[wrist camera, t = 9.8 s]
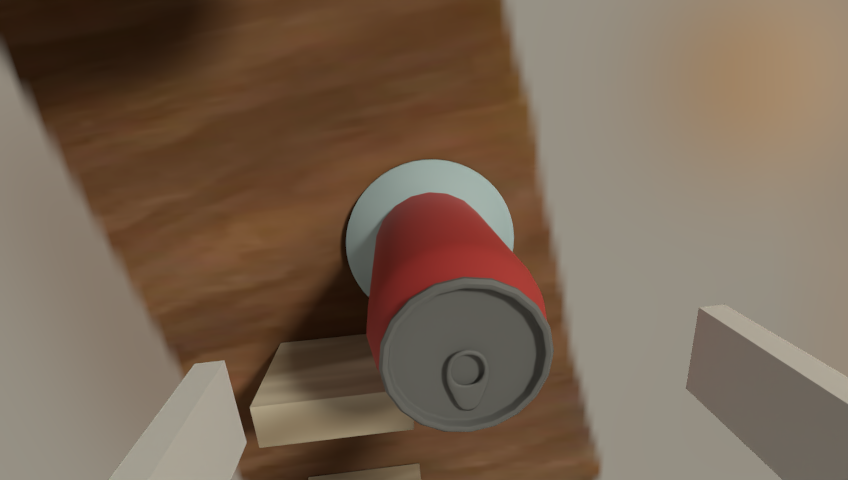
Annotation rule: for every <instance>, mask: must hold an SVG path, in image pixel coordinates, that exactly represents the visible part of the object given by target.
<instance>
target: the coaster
mask: <svg viewBox="0 0 848 480" xmlns="http://www.w3.org/2000/svg"><path fill="white" fill-rule="evenodd" d="M428 192H433V193H446V194H449V195H452V196H454V197H457V198H459V199H461V200H464V201H465V202H466V203H467V204H468V205H470V206H471V207H472V208H473V209H474V210H475V211H476V212H477V213H478V214H479V215H480V216H481V217H482V218H483V219H484V220H485V222H486V223H487V224H488V225H489V226H490V227H491V228H492V229H493V231H494V232H495V233H496V234H497V235H498V236H499V237H500V238H501V240H502V241H503V242H504V243H505V244H506V245H507V246H508V248H509V249H510V250H511V251H512V252H513V243H514V233H513V224H512V220H511V216H510V213H509V210H508V208H507V206H506V204H505V202H504V200H503V198H502V197H501V195H500V194H499V192H498V191H497V190H496V188H495V187H494V186H493V185H492V184H491V183H490V182H489V181H488V180H486V179H485V178H484V177H483V176H481V175H480V174H479V173H477V172H475V171H474V170H472V169H470V168H468V167H466V166H464V165H461V164H459V163H456V162H452V161H448V160H440V159H422V160H415V161H411V162H407V163H404V164H401V165H399V166H396V167H394V168H392V169H390V170H388V171H387V172H385V173H383V174H382V175H380V176H379V177H378V178H377V179H376V180H374V181H373V182H372V183H371V184H370V185H369V186H368V187H367V188H366V190H365V191H364V192H363V194H362V195H361V196H360V198H359V199H358V201H357V203H356V205H355V207H354V209H353V211H352V214H351V217H350V220H349V223H348V228H347V234H346V252H347V258H348V262H349V266H350V268H351V271H352V274H353V276H354V278H355V280H356V282H357V283H358V285H359V286H360V287H361V289H362V290H363V292H364V293H365V294H366V295H367V296H368V297H369V295H370V286H371V278H372V269H373V261H374V252H375V244H376V236H377V234H378V231H379V229H380V226H381V224H382V221H383V219H384V218H385V217H386V216H387V215H388V214H389V212H390V211H391V210H392V209H393V208H394V207H395V206H396V205H398V204H399V203H401V202H403V201H404V200H406V199H408V198H409V197H411V196H415V195H419V194H423V193H428Z"/></svg>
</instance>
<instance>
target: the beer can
mask: <svg viewBox="0 0 848 480" xmlns="http://www.w3.org/2000/svg"><path fill="white" fill-rule="evenodd" d="M366 336H367V339H368V342H369V345H370V348H371V352H372V355H373V358H374V361H375V364H376V368H377V370H378V371H379V373H380V375H381V378H382V382H383V385H384V388H385V391H386V393H387V394H388V396H389V397H390V398H391V400H392V401H393V402H394V403H395V405H396V406H397V407H398V409H399V410H400V411H401V412H403V413H404V414H406V415H407V416H409V417H410V418H412V419H413V420H415V421H416V422H418V423H419V424H421V425H424V426H428V427H431V428H435V429H438V430H441V431H450V432H471V431H476V430H480V429H484V428H488V427H492V426H496V425H497V424H499V423H501V422H503V421H505V420H507V419H509V418H510V417H512V416H514V415H516V414H518V413H519V412H520V411H521V410H522V409H523V408H524V407H525V406H526V405H527V404H529V403H530V402H531V401H532V400H533V399H534V398H535V397H536V396H537V394H538V392H539V391H540V389H541V387H542V386H543V384H544V382H545V380H546V379H547V377H548V375H549V371H550V367H551V362H552V357H553V352H554V350H553V343H552V336H551V329H550V326H549V324H548V323H547V319H546V312H545V305H544V301H543V297H542V294H541V292H540V290H539V288H538V286H537V284H536V283H535V281H534V279H533V277H532V275H531V274H530V272H529V270H528V269H527V268H526V267H525V266H524V264H523V263H522V262H521V261H520V260H519V259H518V258H517V257H516V255H515V254H514V253H513V252H512V251H511V250H510V249H509V248H508V246H507V245H506V244H505V243H504V242H503V241H502V240H501V238H500V237H499V236H498V235H497V234H496V233H495V232H494V231H493V229H492V228H491V227H490V226H489V225H488V224H487V223H486V222H485V220H484V219H483V218H482V217H481V216H480V215H479V214H478V213H477V212H476V211H475V210H474V209H473V208H472V207H471V206H470V205H468V204H467V203H466V202H465V201H464V200H461V199H459V198H457V197H454V196H452V195H449V194H446V193H433V192H428V193H423V194H419V195H415V196H411V197H409V198H408V199H406V200H404V201H403V202H401V203H399V204H398V205H396V206H395V207H394V208H393V209H392V210H391V211H390V212H389V214H388V215H387V216H386V217H385V218H384V219H383V221H382V224H381V226H380V229H379V231H378V234H377V236H376V244H375V252H374V261H373V269H372V278H371V286H370V295H369V303H368V314H367V332H366Z"/></svg>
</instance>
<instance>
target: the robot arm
mask: <svg viewBox="0 0 848 480" xmlns="http://www.w3.org/2000/svg"><path fill="white" fill-rule="evenodd" d="M686 389H687V390H688V391H689V392H691V393H692V394H693V395H694V396H695V397H696V398H697V399H698V400H699V401H700V402H701V403H702V404H703V405H704V406H705V407H706V408H707V409H708V410H710V411H711V412H712V413H713V414H714V415H715V416H716V417H717V418H718V419H719V420H720V421H721V422H722V423H723V424H724V425H726V427H727V428H729V429H730V430H731V431H732V432H733V433H734V434H735V435H736V436H737V437H738V438H739V439H740V440H741V441H742V442H743V443H744V444H746V446H748V447H749V448H750V449H751V450H752V451H753V452H754V453H755V454H756V455H757V456H758V457H759V458H760V459H761V460H762V461H764V463H765V464H767V465H768V466H769V467H770V468H771V469H772V470H773V471H774V472H775V473H776V474H777V475H778V476H779V477H780V478H781V479H782V480H848V377H846V376H845V375H843V374H841V373H840V372H838V371H836V370H834V369H833V368H831V367H830V366H828V365H826V364H824V363H823V362H821V361H819V360H818V359H816V358H814V357H813V356H811V355H809V354H808V353H806V352H804V351H802V350H801V349H799V348H797V347H796V346H794V345H792V344H791V343H789V342H787V341H785V340H784V339H782V338H780V337H779V336H777V335H775V334H774V333H772V332H770V331H769V330H767V329H765V328H763V327H762V326H760V325H758V324H757V323H755V322H753V321H752V320H750V319H748V318H746V317H745V316H743V315H741V314H740V313H738V312H736V311H734V310H733V309H731V308H730V307H728V306H726V305H717V306H708V307H699V310H698V316H697V324H696V329H695V336H694V342H693V348H692V354H691V360H690V367H689V373H688V379H687V386H686ZM246 443H247V442H246V438H245V435H244V431H243V427H242V424H241V420H240V416H239V413H238V409H237V405H236V401H235V398H234V394H233V390H232V387H231V383H230V379H229V376H228V372H227V368H226V365H225V361H216V362H207V363H198V364H194V365H193V367H192V368H191V369H190V371H189V372H188V373H187V375H186V376H185V377H184V379H183V380H182V381H181V383H180V384H179V385H178V387H177V388H176V389H175V391H174V392H173V394H172V395H171V396H170V398H169V399H168V400H167V402H166V403H165V404H164V406H163V407H162V408H161V410H160V411H159V413H158V414H157V415H156V416H155V418H154V419H153V420H152V422H151V423H150V424H149V426H148V427H147V428H146V430H145V431H144V433H143V434H142V435H141V437H140V438H139V439H138V440H137V442H136V443H135V444H134V446H133V447H132V448H131V450H130V451H129V453H128V454H127V455H126V457H125V458H124V459H123V461H122V462H121V463H120V465H119V466H118V467H117V469H116V470H115V471H114V473H113V474H112V475H111V477H110V478H109V479H108V480H231V479H232V476H233V474H234V472H235V469H236V467H237V464H238V462H239V460H240V457H241V455H242V452H243V450H244V448H245V445H246Z"/></svg>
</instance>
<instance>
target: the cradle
mask: <svg viewBox="0 0 848 480" xmlns="http://www.w3.org/2000/svg"><path fill="white" fill-rule="evenodd" d="M250 411H251V415H252V419H253V423H254V427H255V431H256V435H257V439H258V444H259V448H262V447H270V446H278V445H287V444H295V443H303V442H312V441H320V440H328V439H337V438H345V437H353V436H361V435H370V434H378V433H386V432H395V431H403V430H411V429H414V420H413V419H412V418H410V417H409V416H407V415H406V414H404V413H403V412H401V411H400V410H399V409H398V407H397V406H396V405H395V403H394V402H393V401H392V400H391V398H390V397H389V396H388V394H387V393H386V391H385V388H384V385H383V382H382V378H381V375H380V373H379V371H378V370H377V368H376V364H375V361H374V358H373V355H372V352H371V348H370V345H369V342H368V339H367V336H366V334H360V335H351V336H341V337H332V338H323V339H314V340H304V341H295V342H286V343H281V344H280V346H279V348H278V350H277V352H276V354H275V356H274V358H273V360H272V362H271V364H270V366H269V368H268V371H267V373H266V375H265V377H264V379H263V381H262V383H261V385H260V387H259V389H258V391H257V393H256V395H255V397H254V400H253V402H252V404H251V406H250ZM308 480H421V475H420V466H419V463H418V464H410V465H402V466H394V467H386V468H378V469H370V470H362V471H354V472H346V473H338V474H330V475H322V476H314V477H308Z"/></svg>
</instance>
